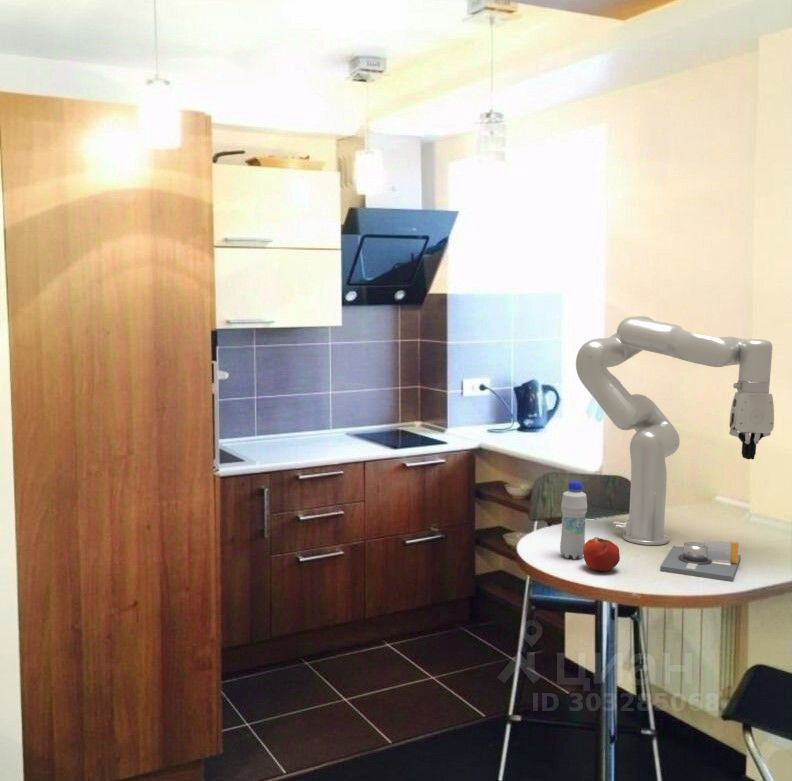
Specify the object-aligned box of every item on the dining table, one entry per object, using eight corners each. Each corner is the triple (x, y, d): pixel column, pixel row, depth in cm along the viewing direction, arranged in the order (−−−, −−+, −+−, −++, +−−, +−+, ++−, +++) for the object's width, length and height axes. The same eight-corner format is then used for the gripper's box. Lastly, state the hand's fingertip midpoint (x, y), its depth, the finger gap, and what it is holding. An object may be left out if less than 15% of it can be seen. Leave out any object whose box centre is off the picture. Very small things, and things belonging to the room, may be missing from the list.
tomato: (592, 561, 235) (593, 531, 234) (625, 569, 229) (627, 538, 228) (574, 570, 228) (576, 538, 227) (608, 578, 222) (610, 546, 221)
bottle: (581, 552, 242) (585, 478, 239) (588, 560, 235) (591, 484, 233) (556, 552, 242) (559, 478, 239) (562, 560, 235) (565, 484, 232)
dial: (683, 560, 232) (684, 541, 231) (682, 553, 237) (683, 535, 237) (738, 565, 228) (739, 546, 227) (736, 559, 234) (737, 540, 233)
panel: (660, 570, 228) (660, 565, 228) (673, 550, 246) (673, 544, 246) (732, 581, 221) (732, 575, 220) (740, 559, 239) (740, 554, 238)
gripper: (733, 389, 230) (727, 461, 232) (788, 390, 232) (783, 461, 234) (718, 385, 237) (713, 455, 240) (773, 386, 239) (767, 455, 241)
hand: (748, 458), depth 237 cm, fingers closed
